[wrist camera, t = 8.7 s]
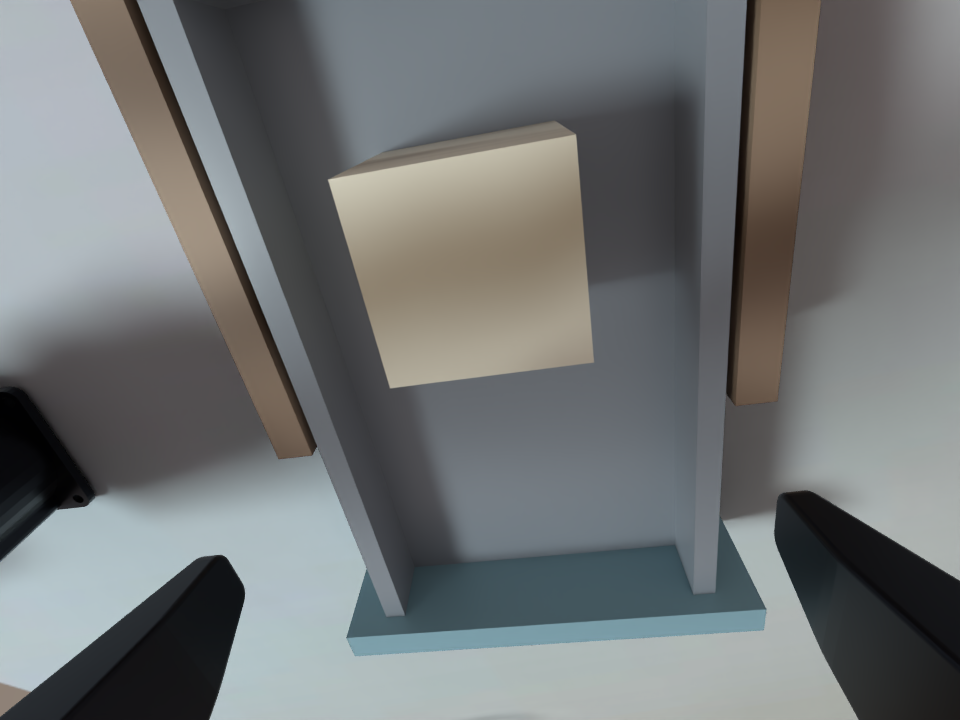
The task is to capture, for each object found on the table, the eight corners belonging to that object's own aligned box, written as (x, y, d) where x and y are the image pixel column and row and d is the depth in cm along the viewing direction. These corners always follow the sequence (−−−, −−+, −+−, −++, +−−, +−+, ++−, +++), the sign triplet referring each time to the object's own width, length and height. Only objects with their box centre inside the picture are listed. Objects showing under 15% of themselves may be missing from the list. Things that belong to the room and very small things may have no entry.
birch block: (570, 289, 16) (594, 362, 12) (420, 311, 17) (390, 388, 13) (554, 120, 14) (576, 134, 10) (382, 152, 15) (327, 179, 10)
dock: (721, 336, 19) (777, 401, 15) (321, 389, 21) (278, 459, 17) (776, -863, 9) (1001, -1658, 5) (-26, -534, 11) (-340, -901, 7)
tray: (715, 528, 23) (763, 630, 19) (381, 557, 25) (355, 656, 21) (748, -139, 13) (874, -258, 8) (171, 2, 15) (27, -35, 10)
